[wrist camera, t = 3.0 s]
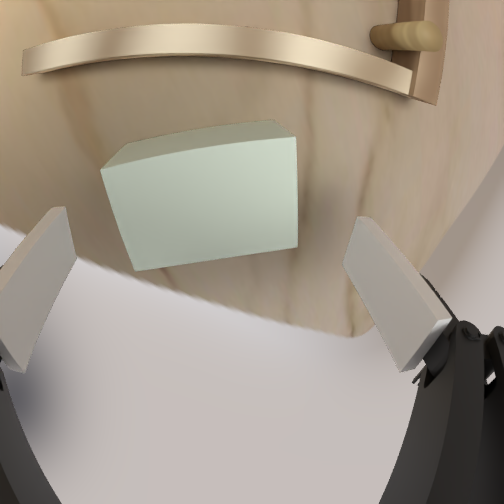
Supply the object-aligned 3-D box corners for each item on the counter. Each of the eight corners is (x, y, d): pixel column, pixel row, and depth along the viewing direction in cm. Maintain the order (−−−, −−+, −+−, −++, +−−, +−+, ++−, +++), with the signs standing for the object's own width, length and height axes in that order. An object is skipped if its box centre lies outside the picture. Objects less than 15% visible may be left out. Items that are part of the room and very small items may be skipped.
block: (148, 226, 19) (135, 271, 15) (126, 143, 16) (100, 169, 12) (278, 205, 20) (297, 247, 16) (273, 119, 16) (295, 136, 12)
